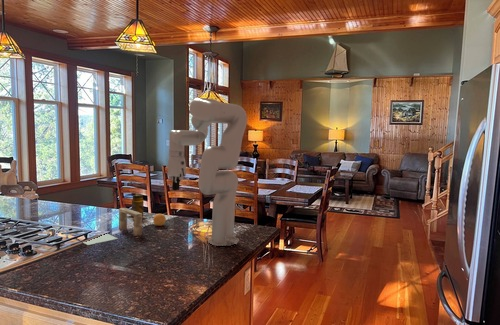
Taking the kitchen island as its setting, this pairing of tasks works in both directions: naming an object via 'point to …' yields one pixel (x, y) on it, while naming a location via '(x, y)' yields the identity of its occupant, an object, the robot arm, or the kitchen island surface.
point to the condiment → (137, 205)
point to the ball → (159, 219)
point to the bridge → (137, 220)
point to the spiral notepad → (100, 239)
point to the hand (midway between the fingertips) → (175, 189)
